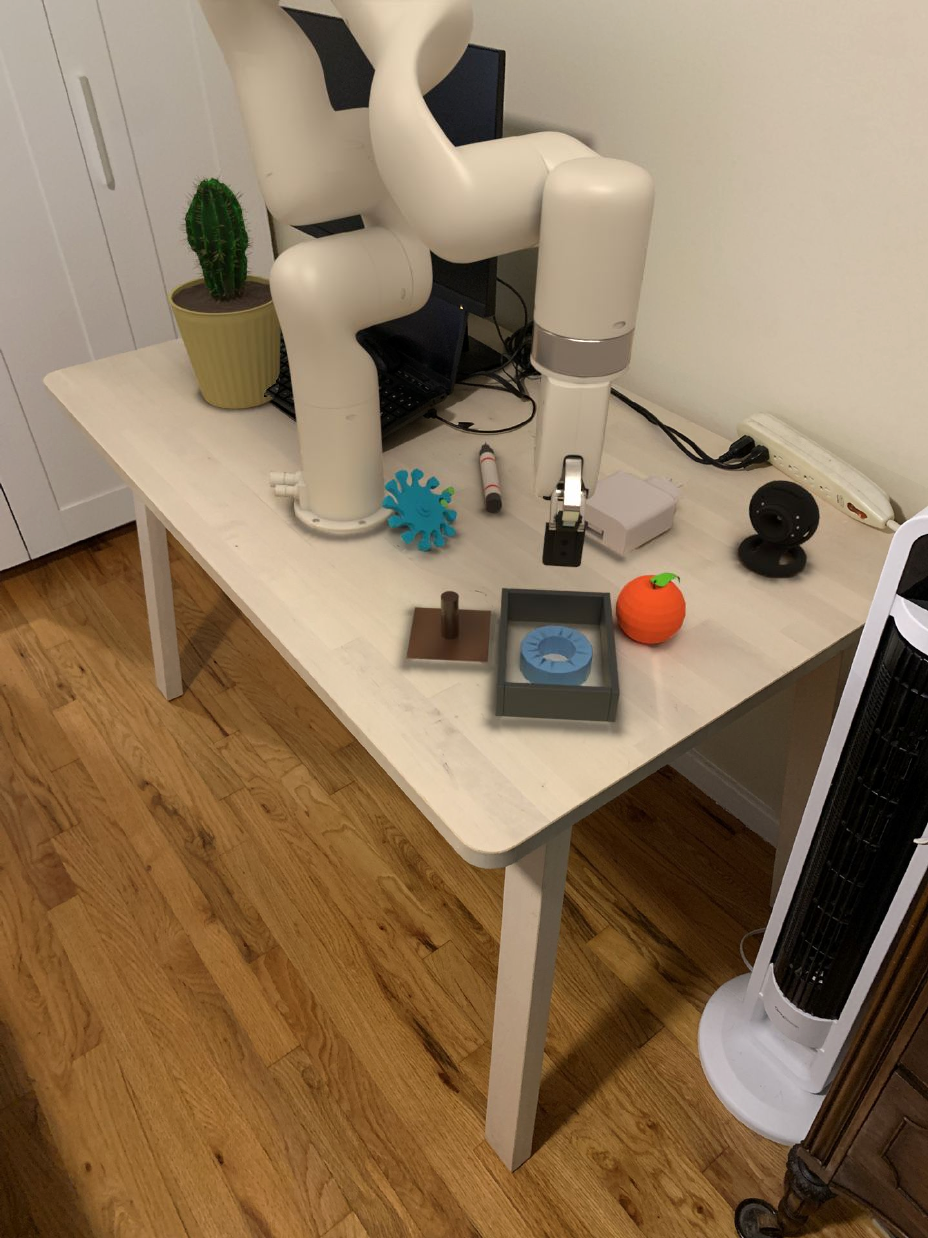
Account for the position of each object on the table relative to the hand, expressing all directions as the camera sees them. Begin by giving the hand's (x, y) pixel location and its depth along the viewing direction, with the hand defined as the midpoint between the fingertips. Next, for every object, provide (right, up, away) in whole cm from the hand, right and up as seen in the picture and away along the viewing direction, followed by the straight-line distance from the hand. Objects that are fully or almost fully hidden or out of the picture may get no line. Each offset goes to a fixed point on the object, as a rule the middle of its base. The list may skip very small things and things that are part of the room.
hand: (560, 530), depth 79 cm
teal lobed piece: (-13, +2, +28) cm, 31 cm away
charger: (+12, +4, +30) cm, 33 cm away
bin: (0, -13, +10) cm, 16 cm away
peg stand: (-10, -10, +13) cm, 19 cm away
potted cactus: (-42, +26, +56) cm, 75 cm away
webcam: (+27, -1, +24) cm, 36 cm away
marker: (-5, +10, +37) cm, 39 cm away
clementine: (+11, -9, +14) cm, 20 cm away
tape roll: (0, -13, +9) cm, 16 cm away
